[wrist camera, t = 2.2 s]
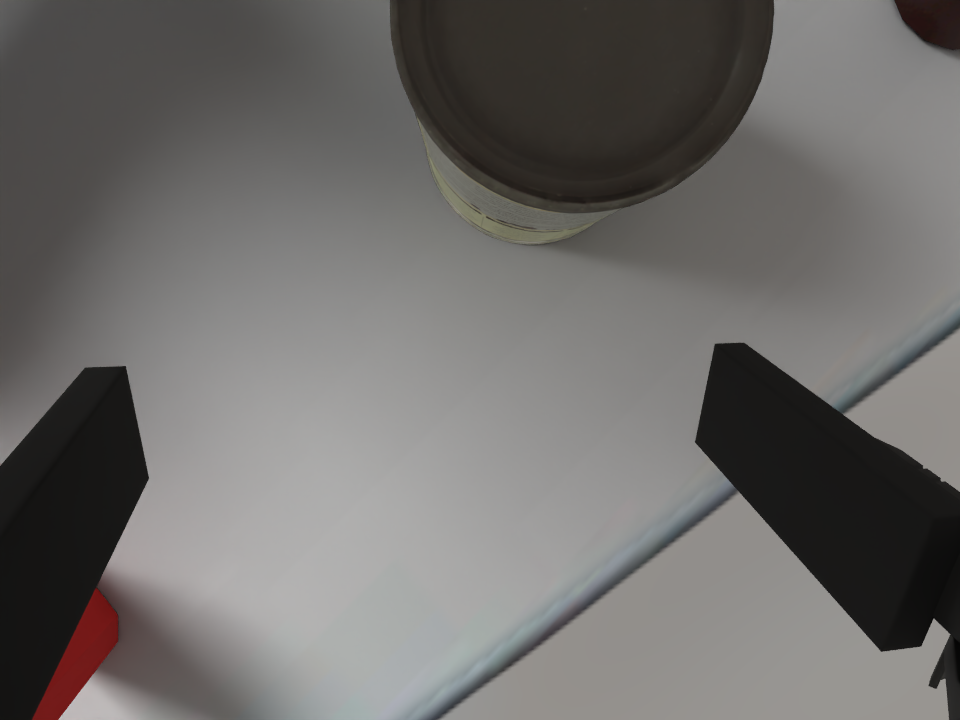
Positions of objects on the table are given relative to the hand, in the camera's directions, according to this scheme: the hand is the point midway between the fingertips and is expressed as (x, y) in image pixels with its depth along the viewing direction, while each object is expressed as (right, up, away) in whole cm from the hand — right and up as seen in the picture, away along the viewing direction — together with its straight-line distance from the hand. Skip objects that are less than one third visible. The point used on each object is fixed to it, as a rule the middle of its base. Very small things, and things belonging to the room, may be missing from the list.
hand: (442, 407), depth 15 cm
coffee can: (+3, +12, +17) cm, 21 cm away
